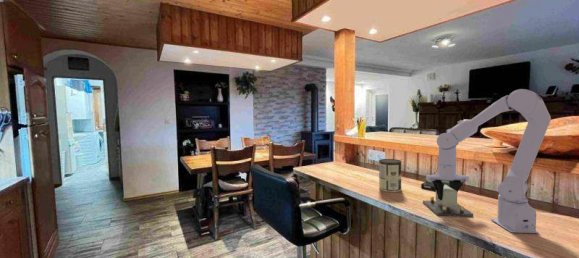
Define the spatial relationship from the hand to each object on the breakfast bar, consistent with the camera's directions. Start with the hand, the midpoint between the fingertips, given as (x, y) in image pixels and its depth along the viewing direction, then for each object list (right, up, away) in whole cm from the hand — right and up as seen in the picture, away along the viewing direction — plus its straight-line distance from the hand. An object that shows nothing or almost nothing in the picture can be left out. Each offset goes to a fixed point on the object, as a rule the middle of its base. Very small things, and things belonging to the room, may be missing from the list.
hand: (446, 199), depth 97 cm
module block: (0, -2, 0) cm, 2 cm away
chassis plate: (0, -4, 0) cm, 4 cm away
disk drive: (+13, -2, +28) cm, 31 cm away
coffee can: (-11, -3, +27) cm, 29 cm away
